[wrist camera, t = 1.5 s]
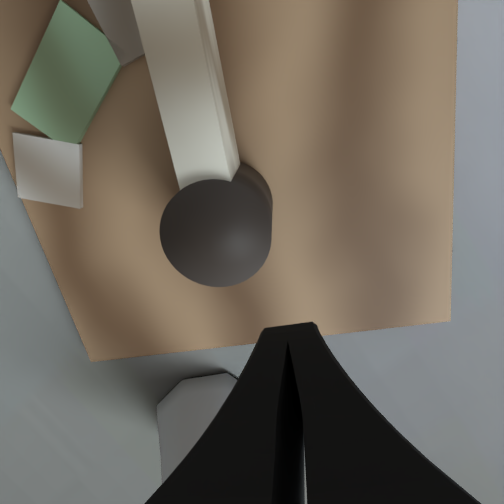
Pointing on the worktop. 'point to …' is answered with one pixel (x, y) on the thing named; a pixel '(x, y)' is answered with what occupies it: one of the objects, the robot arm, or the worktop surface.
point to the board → (251, 153)
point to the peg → (202, 150)
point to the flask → (188, 416)
